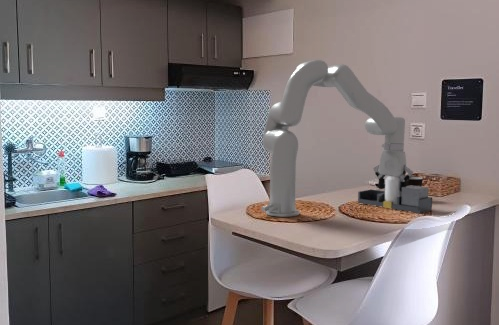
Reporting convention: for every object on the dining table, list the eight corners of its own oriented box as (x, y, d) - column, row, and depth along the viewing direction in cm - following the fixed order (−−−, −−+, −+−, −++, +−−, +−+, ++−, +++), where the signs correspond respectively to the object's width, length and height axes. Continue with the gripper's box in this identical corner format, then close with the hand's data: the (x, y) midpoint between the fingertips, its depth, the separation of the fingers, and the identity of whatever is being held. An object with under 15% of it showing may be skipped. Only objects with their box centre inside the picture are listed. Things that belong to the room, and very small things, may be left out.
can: (397, 206, 199) (398, 176, 197) (381, 204, 203) (382, 174, 201) (403, 203, 204) (404, 174, 202) (388, 202, 208) (389, 173, 206)
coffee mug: (419, 199, 223) (420, 176, 222) (424, 202, 214) (425, 179, 213) (392, 198, 224) (393, 176, 223) (396, 201, 215) (397, 178, 214)
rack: (419, 213, 190) (420, 189, 189) (357, 203, 210) (358, 182, 209) (431, 210, 196) (432, 187, 195) (370, 201, 216) (371, 180, 215)
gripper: (370, 146, 205) (368, 188, 206) (409, 149, 193) (407, 193, 194) (379, 146, 210) (377, 186, 212) (418, 148, 198) (416, 191, 199)
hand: (391, 189), depth 203 cm, fingers open, 9 cm apart
